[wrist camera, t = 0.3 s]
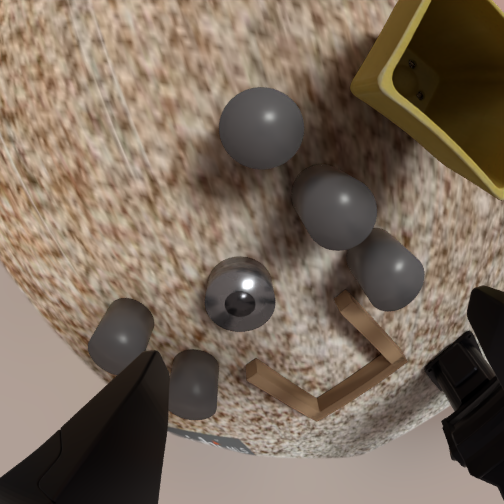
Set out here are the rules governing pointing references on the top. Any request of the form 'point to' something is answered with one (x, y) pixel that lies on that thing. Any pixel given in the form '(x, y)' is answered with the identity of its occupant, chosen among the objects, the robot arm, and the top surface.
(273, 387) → the corral
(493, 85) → the flower pot
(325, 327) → the top surface
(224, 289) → the grey metallic short cylinder
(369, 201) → the spacers
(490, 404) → the robot arm
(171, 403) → the spacers
